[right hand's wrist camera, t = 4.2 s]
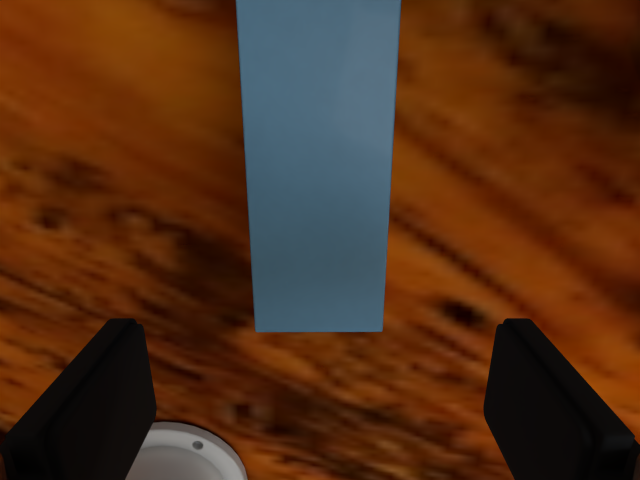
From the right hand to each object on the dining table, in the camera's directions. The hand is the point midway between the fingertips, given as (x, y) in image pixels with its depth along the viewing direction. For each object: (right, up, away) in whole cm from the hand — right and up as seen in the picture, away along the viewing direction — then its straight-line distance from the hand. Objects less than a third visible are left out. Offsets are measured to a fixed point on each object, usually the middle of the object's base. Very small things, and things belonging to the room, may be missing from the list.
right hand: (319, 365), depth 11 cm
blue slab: (0, +13, +15) cm, 19 cm away
